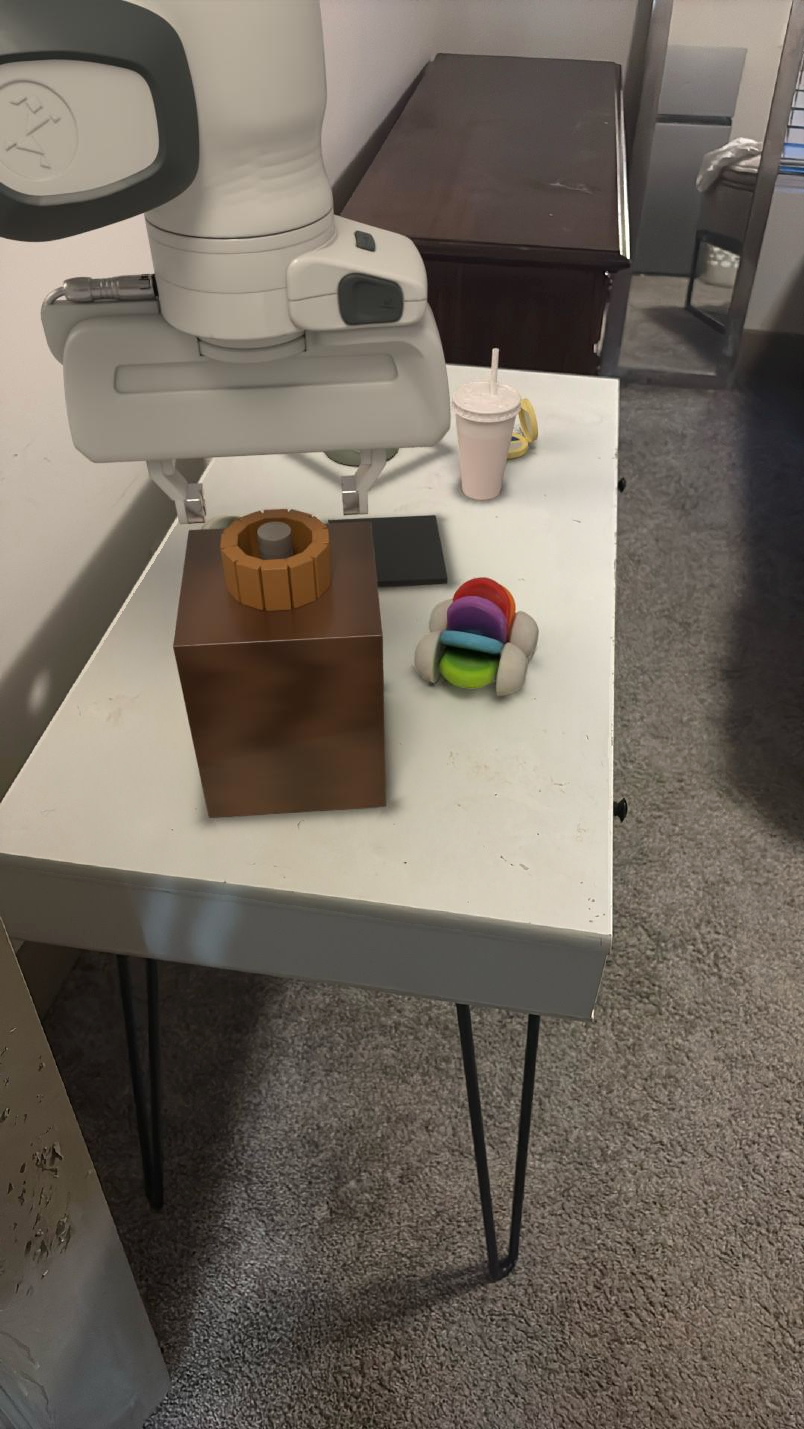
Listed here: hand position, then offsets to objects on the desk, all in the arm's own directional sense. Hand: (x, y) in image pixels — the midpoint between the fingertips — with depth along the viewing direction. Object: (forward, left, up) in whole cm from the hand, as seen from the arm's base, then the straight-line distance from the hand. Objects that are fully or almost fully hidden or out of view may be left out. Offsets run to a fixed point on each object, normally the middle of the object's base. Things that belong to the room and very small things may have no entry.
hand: (274, 514), depth 58 cm
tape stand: (0, 0, -20) cm, 20 cm away
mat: (+8, +24, -20) cm, 32 cm away
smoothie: (+18, +34, -20) cm, 43 cm away
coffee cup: (+7, +43, -20) cm, 48 cm away
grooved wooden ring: (0, 0, -5) cm, 5 cm away
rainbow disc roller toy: (+14, +8, -20) cm, 25 cm away
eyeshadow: (+22, +42, -20) cm, 51 cm away
